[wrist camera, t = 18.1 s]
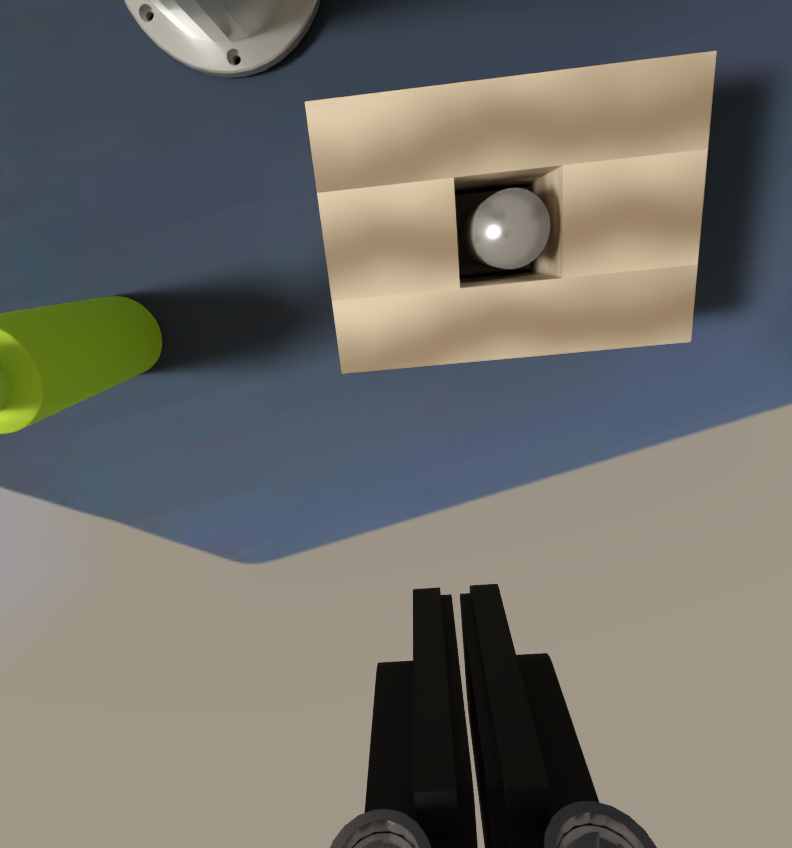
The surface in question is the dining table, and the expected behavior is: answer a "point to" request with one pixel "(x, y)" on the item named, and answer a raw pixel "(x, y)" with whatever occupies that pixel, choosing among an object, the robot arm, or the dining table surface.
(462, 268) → the gray square panel
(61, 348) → the green soap pump bottle
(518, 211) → the peg
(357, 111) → the socket block
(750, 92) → the dining table surface
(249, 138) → the dining table surface
